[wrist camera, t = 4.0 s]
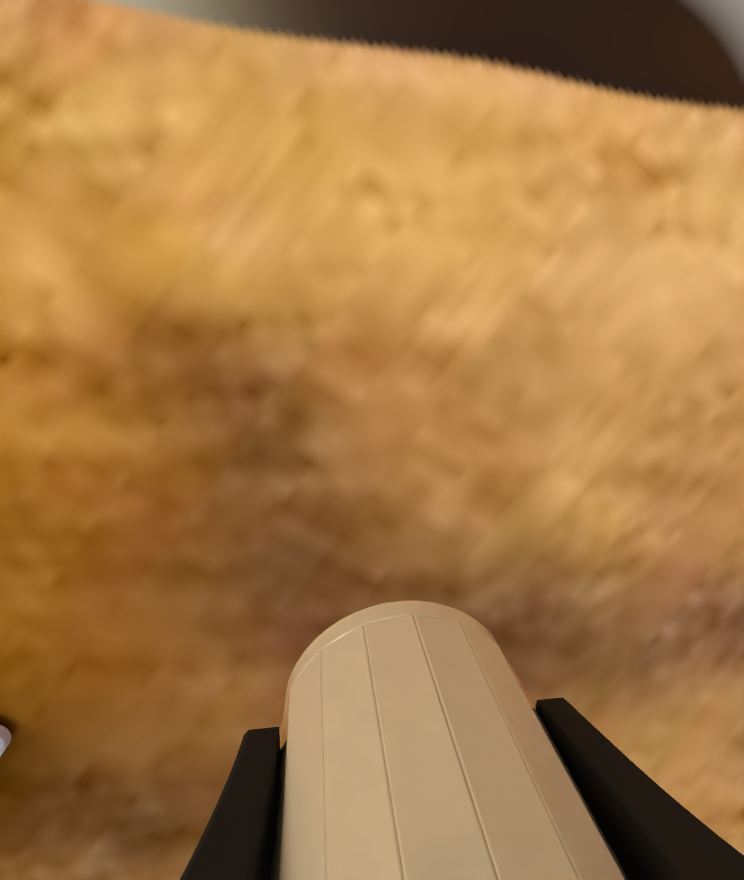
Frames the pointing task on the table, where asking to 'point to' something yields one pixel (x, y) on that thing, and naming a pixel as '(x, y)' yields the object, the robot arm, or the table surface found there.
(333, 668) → the cup
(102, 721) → the table surface
